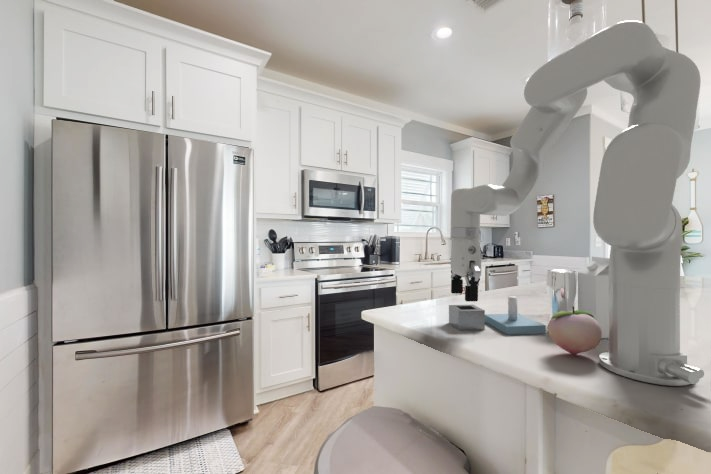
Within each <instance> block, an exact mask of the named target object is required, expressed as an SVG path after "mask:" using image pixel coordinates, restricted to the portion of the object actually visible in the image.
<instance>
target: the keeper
mask: <svg viewBox="0 0 711 474" xmlns="http://www.w3.org/2000/svg"><path fill="white" fill-rule="evenodd" d="M507 300H508V301H507V305H508V306H507V309H508V310H507V313H492V314H491V313H490V314H489V313H485V323H486V324H487V325H490V326H492V327H493V328H495V329H497V330H499V331H501V333H504V334H505V335H537V334H546V328H547V327H546V325H545V324H543V323H541V322H539V321H536V320H534V319H532V318H529V317H527V316H524V315H522V314H520V313H518V296H508V297H507Z"/></svg>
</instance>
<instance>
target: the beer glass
mask: <svg viewBox="0 0 711 474" xmlns="http://www.w3.org/2000/svg"><path fill="white" fill-rule="evenodd" d="M546 273H547V274H546V294H547V301H548V304H549V311H550V313H549V319H548V322H549V321H550V320H551V318H552V316H553V315H554V314H555V313H557V312H559V311H568V312H572V311H573V309H572V306H574V310H575V308H576V303H577V300H578V272H577V271H576V270H573V269H547V272H546Z"/></svg>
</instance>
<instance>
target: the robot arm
mask: <svg viewBox="0 0 711 474" xmlns="http://www.w3.org/2000/svg"><path fill="white" fill-rule="evenodd" d="M700 73H701V72H700V70H699V68H698V66H697V65H696V63H695V62H694V61H693V59H691V58H690V57H688V56H687V55H685V54H684V53H681V52H679V51H678V52H677V51H675V50H672V49H669V48H667V47H665V46H663V45H662V43H661V42H660V40H659V39H658V37H657V36H656V34H655V32H654V31H653V29H652V28H651V27H650V26H649V25H648V24H647V23H645V22H643V21H639V20H633V19H632V20H624V21H620V22H616V23H614V24H612V25H610V26H607V27H606V28H604V29H602V30H600V31H598V32H596V33H595V34H593V35H591V36H590V37H587V38H586V39H584V40H582V41H581V42H579V43H577V44H576V45H574V46H572V47H571V48H569V49H567V50H565V51H563V52H562V53H560V54H559V55H556V56H555V57H554V58H552V59H550V60H549V61H548V62H546V63H544V64H543V65H541V66H540V67H539V68H538V69H536V71H534V72H533V73H532V74H531V76H530V77H529V79H527V82H526V84H525V87H524V89H523V96H524V97H523V98H524V100H525V102H526V104H528V105H529V106H530V108H529V110H528V111H527V113H526V115H525V116H524V118H523V120H522V121H521V123H520V124H519V125H518V126H517V128H516V130H515V132H514V133H513V134H512V136H511V137H510V141H509V143H510V145H509V146H510V148H511V149H510V150H511V152H512V156H513V161H512V167H511V170H510V172H509V174H508V175H507V177H506V179H505V180H504V182H503V183H502V184H501V185H495V184H494V185H493V184H482V185H478V186H474V187H469V188H466V187H464V188H457V189H455V190H453V191H452V192H451V195H450V236H449V237H450V240H452V242H451V243H452V244H451V249H450V250H451V251H450V273H451V274H450V279H451V281H450V283H451V284H450V285H451V286H450V293H451V294H452V295H453V294H463V293H464V301H465V302H478V301H479V286H480V280H481V276H482V254H481V250H482V249H481V244H480V237H481V236H480V235H481V230H480V229H481V228H480V227H481V215H482V216H483V215H484V216H499V217H500V216H501V217H504V216H509V215H512V214H513V213H515V212H516V211H517V210H519V208H520V207H521V206H522V205H523V204H524V202H525V201H526V200H527V198H528V197H529V196H530V194H531V193H532V191H533V190H534V189H535V187H536V185H537V183H538V180H539V177H540V175H541V172H542V169H543V166H544V162H545V158H546V157H547V156H548V154H549V152H550V151H551V149H552V148H553V146H554V145H555V143H557V141H558V140H559V138H560V137H561V136H562V134H563V132H564V131H565V130H566V128H567V127H568V126H569V125H570V123H571V121H573V119H574V118H575V117H576V115H577V113H578V112H579V111H580V109H581V108H582V106H583V104H584V103H585V100H586V99H587V95H588V88H590V87H592V86H594V85H596V84H598V83H601V82H603V81H604V83H606V84H607V85H609V86H610V87H611V88H613V89H615V90H618V91H621V92H624V93H627V94H630V95H631V96H632V97H633V101H632V104H631V108H630V111H629V115H628V116H629V117H628V124H627V128H626V129H624V130H622V131H620V132H619V133H618V134H617V135H615V137H613V138H612V140H611V141H610V142H609V143H608V146H607V147H606V149H605V151H604V153H603V156H602V160H601V164H600V171H599V177H598V183H597V188H596V195H595V201H594V207H593V215H592V216H593V220H592V222H593V227H594V231H595V233H596V235H597V236H598V237H599V239H601V240H602V241H603V243H606V244H607V245H608V246H610V250H609V257H608V258H609V338H608V351H605V352H601V353H599V355H598V363H599V364H600V365H601V366H602V367H603V368H605V369H606V370H608V371H610V372H612V373H614V374H617V375H620V376H621V377H626V378H628V379H630V380H636V381H640V382H643V383H647V384H655V385H659V386H660V385H661V386H669V387H670V386H671V387H673V386H674V387H683V386H688V385H696V384H698V383H699V382H700V379H702V378H704V376H705V372H704V370H703V369H701V368H698V367H695V366H693V365H692V366H691V365H689V364H688V354H684V353H682V352H681V257H682V255H681V254H682V244H683V220H682V217H681V215H680V212H679V211H678V209H677V208H676V206H674V205H673V201H674V196H675V190H676V185H677V181H678V179H679V178H680V177H681V176H682V175H683V174H684V172H685V171H686V170H687V168H688V166H689V164H690V162H691V161H690V160H691V149H692V141H693V136H694V131H695V125H696V118H697V111H698V110H697V109H698V104H699V103H698V102H699V96H700V92H701V91H700V90H701V74H700ZM462 278H464V279H465V284H466V285H463V283H464V280H463V279H462ZM463 286H465V287H464V288H463ZM463 289H464V291H463Z"/></svg>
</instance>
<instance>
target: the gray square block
mask: <svg viewBox="0 0 711 474" xmlns="http://www.w3.org/2000/svg"><path fill="white" fill-rule="evenodd" d="M485 312H486V311H485V309H482V308H481V307H478V306H476V305H475V304H448V324H450V325H451V326H453V328H455V329H456V330H458V331H478V330H479V331H480V330H483V331H484V330H485V329H486V324H485V323H486V322H485V314H486V313H485Z"/></svg>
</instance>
